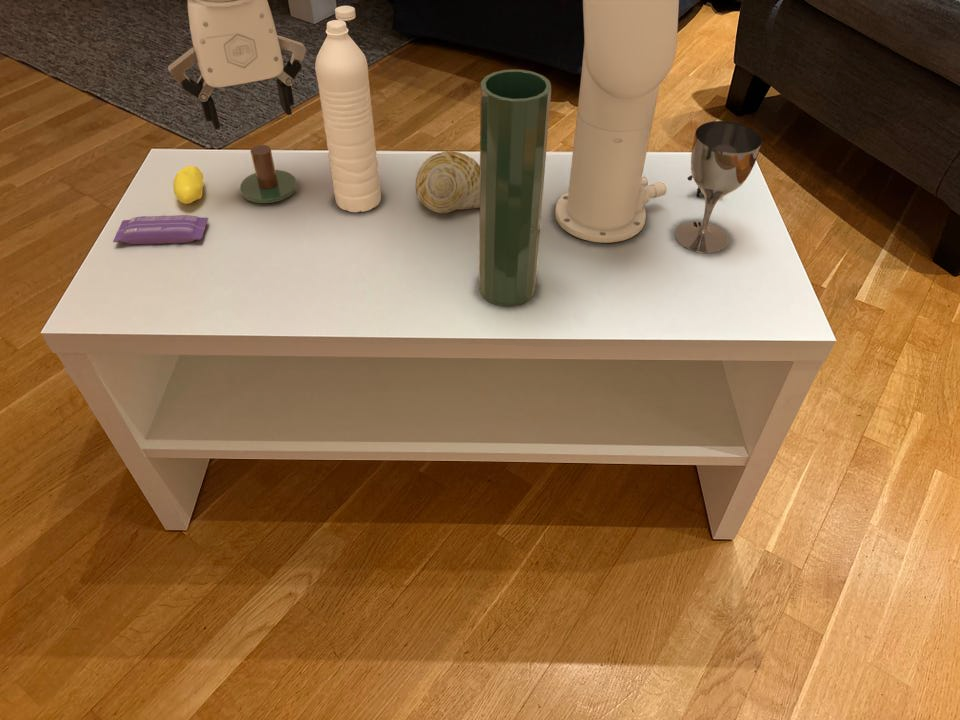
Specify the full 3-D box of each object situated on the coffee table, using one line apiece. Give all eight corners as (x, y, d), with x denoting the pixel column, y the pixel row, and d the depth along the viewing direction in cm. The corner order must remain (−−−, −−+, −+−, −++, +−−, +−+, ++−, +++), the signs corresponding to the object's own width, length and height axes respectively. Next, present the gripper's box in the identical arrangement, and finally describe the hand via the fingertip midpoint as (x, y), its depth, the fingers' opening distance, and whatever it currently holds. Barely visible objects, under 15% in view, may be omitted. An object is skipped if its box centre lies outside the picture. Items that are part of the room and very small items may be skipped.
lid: (289, 171, 112) (280, 131, 107) (304, 198, 107) (296, 156, 102) (236, 184, 109) (225, 143, 104) (249, 212, 104) (238, 170, 99)
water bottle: (375, 215, 104) (356, 34, 86) (330, 211, 104) (301, 31, 86) (388, 181, 110) (372, 6, 92) (346, 178, 110) (321, 4, 93)
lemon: (211, 180, 109) (204, 157, 106) (202, 211, 104) (194, 187, 101) (182, 181, 109) (174, 158, 106) (171, 212, 103) (163, 188, 101)
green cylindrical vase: (518, 265, 96) (529, 64, 77) (544, 296, 92) (563, 92, 73) (469, 279, 94) (469, 77, 75) (494, 312, 90) (501, 106, 71)
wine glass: (660, 227, 102) (682, 127, 92) (709, 215, 104) (736, 116, 94) (692, 260, 97) (719, 158, 86) (742, 247, 99) (775, 146, 88)
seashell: (494, 176, 110) (493, 137, 100) (482, 235, 107) (480, 200, 97) (427, 166, 110) (420, 127, 101) (414, 224, 108) (405, 189, 98)
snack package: (124, 226, 101) (114, 248, 98) (120, 214, 100) (109, 236, 96) (210, 223, 102) (203, 245, 99) (206, 211, 101) (199, 233, 97)
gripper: (152, 4, 82) (191, 143, 94) (302, -17, 88) (321, 117, 100) (141, -18, 87) (180, 118, 99) (285, -37, 93) (305, 94, 105)
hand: (251, 117), depth 100 cm, fingers open, 9 cm apart
